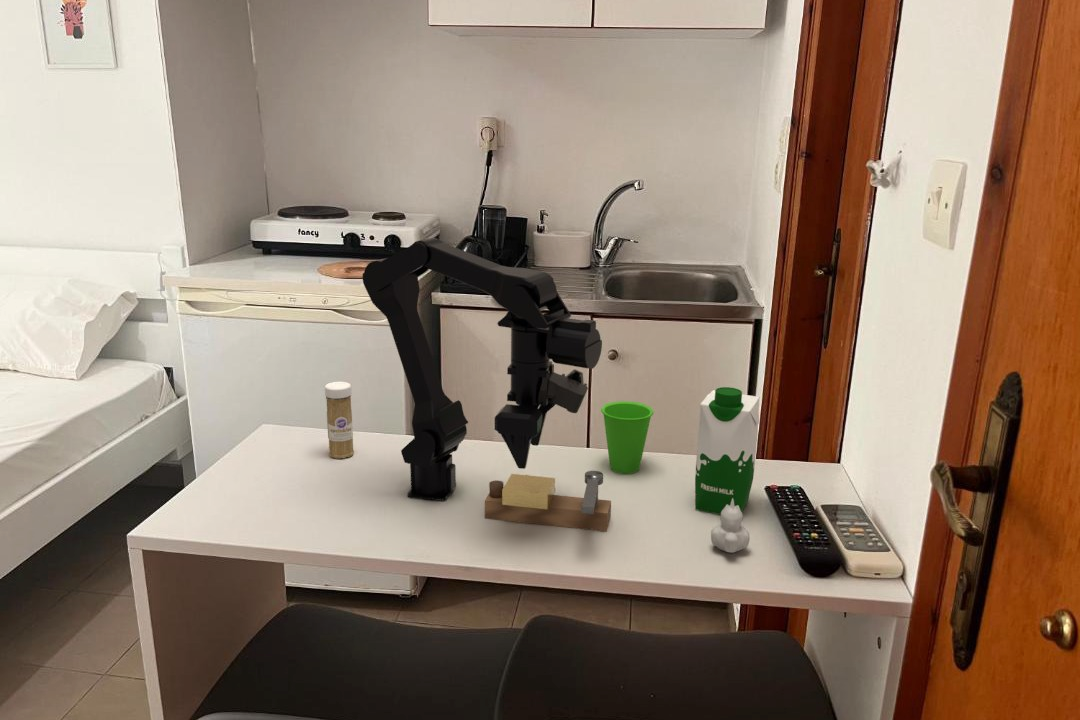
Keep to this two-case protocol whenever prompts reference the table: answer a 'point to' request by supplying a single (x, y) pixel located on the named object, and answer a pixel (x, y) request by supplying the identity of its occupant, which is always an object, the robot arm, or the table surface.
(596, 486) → the lever
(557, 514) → the body
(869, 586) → the table surface
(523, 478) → the gold metal plate
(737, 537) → the white toy figurine
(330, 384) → the sprinkles bottle
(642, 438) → the cup
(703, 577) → the table surface
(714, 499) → the milk carton
